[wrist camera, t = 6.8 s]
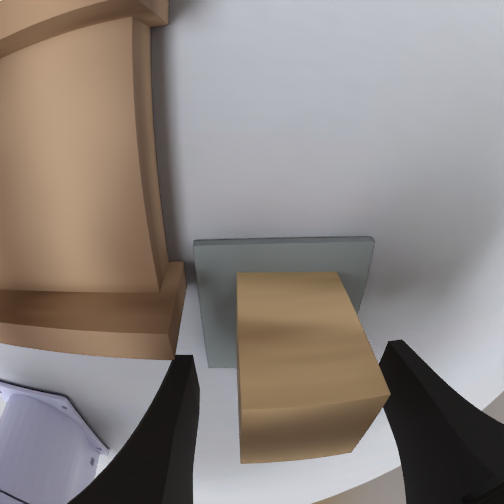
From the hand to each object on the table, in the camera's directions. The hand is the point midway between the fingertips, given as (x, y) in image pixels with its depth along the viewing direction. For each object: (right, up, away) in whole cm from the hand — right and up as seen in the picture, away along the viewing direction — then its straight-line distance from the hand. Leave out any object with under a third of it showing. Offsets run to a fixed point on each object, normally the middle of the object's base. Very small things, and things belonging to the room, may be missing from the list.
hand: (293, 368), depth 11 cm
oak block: (0, +2, +2) cm, 3 cm away
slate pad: (0, +2, +3) cm, 3 cm away
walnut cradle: (-10, +7, -1) cm, 13 cm away
